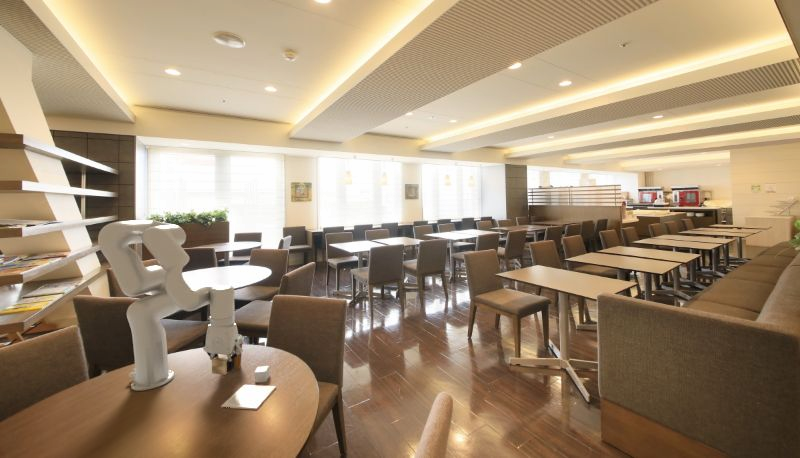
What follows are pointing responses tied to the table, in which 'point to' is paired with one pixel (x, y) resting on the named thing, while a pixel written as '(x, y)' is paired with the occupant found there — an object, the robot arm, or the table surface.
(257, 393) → the tray
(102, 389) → the table surface
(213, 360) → the oak cube
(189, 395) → the table surface
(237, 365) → the disposable coffee cup
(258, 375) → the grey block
